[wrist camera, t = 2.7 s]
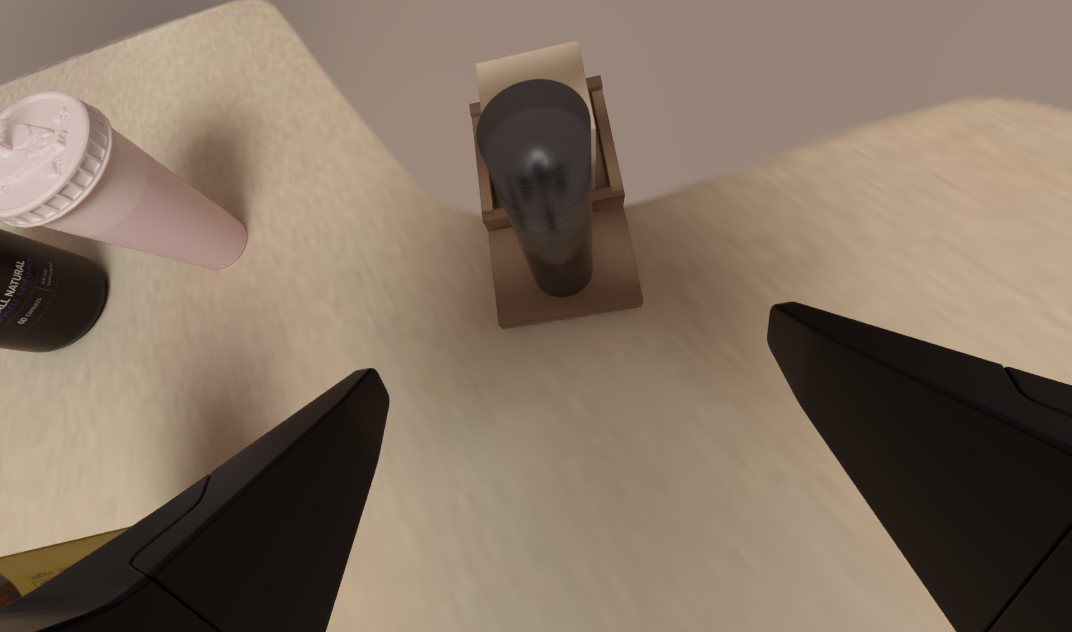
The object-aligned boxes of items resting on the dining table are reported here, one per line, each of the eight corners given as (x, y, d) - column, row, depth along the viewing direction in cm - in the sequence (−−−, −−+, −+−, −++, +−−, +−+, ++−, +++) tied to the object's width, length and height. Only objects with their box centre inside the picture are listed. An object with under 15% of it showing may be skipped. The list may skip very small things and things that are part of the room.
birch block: (595, 190, 23) (595, 128, 18) (508, 207, 23) (485, 151, 18) (581, 116, 24) (577, 40, 19) (499, 133, 24) (475, 64, 20)
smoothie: (180, 213, 28) (-207, 21, 14) (264, 189, 27) (-55, -33, 14) (176, 299, 26) (-268, 173, 13) (267, 276, 26) (-96, 118, 12)
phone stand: (640, 306, 22) (693, 178, 10) (503, 328, 22) (406, 234, 11) (599, 108, 25) (604, -158, 13) (480, 133, 26) (389, -97, 14)
